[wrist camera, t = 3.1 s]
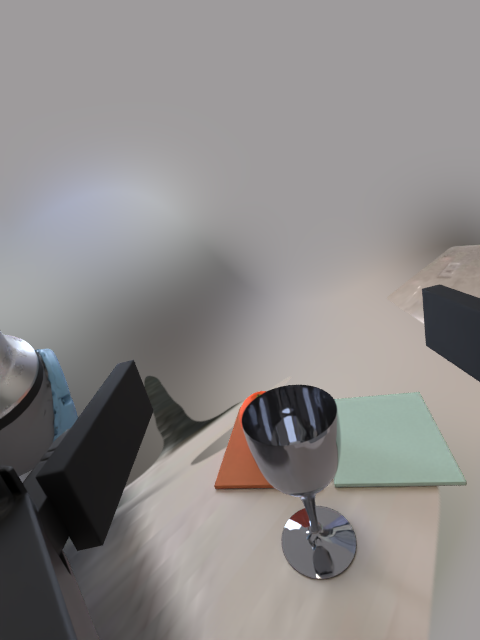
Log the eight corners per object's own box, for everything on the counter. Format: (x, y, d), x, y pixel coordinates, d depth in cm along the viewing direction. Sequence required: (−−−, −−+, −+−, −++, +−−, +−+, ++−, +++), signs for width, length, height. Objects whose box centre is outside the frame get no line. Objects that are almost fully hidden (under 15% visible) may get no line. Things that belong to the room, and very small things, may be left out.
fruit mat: (215, 488, 40) (214, 485, 40) (240, 409, 55) (240, 407, 55) (321, 487, 37) (320, 484, 37) (318, 403, 51) (318, 400, 51)
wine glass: (264, 564, 31) (223, 436, 26) (293, 495, 37) (265, 381, 32) (351, 600, 26) (321, 455, 22) (367, 515, 33) (347, 388, 28)
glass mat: (335, 487, 37) (334, 483, 36) (328, 402, 51) (327, 399, 51) (466, 485, 33) (466, 481, 33) (419, 394, 47) (419, 391, 47)
